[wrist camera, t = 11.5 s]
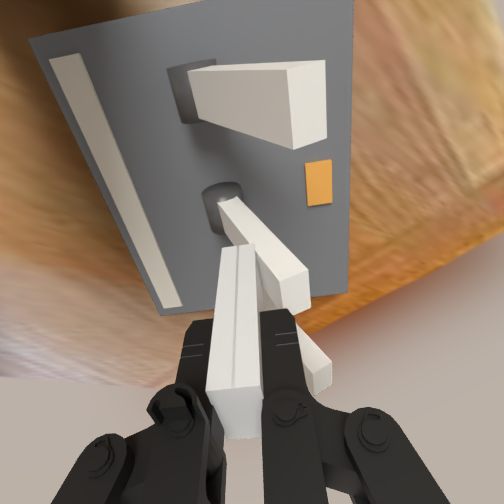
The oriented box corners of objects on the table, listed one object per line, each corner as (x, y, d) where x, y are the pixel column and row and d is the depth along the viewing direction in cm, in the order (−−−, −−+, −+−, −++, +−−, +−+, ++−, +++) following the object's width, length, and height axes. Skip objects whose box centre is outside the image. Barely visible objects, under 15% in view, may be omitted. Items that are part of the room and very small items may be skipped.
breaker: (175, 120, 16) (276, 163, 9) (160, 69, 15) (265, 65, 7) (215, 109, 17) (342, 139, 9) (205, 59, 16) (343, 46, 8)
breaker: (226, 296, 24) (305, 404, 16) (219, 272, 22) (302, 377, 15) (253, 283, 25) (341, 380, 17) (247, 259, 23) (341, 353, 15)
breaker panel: (167, 292, 29) (159, 318, 26) (57, 37, 18) (23, 38, 15) (338, 269, 28) (348, 295, 25) (338, -22, 16) (356, -33, 14)
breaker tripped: (206, 223, 20) (271, 328, 12) (197, 189, 19) (263, 283, 11) (240, 211, 21) (324, 305, 13) (233, 178, 19) (322, 259, 11)
